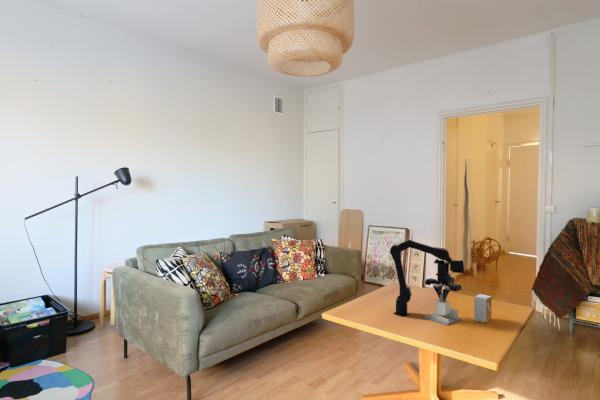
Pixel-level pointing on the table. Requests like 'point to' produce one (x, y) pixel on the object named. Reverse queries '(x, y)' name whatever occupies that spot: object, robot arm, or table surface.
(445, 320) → the cleat board
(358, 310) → the table surface
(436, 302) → the block with grey handle
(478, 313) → the small box
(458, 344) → the table surface
